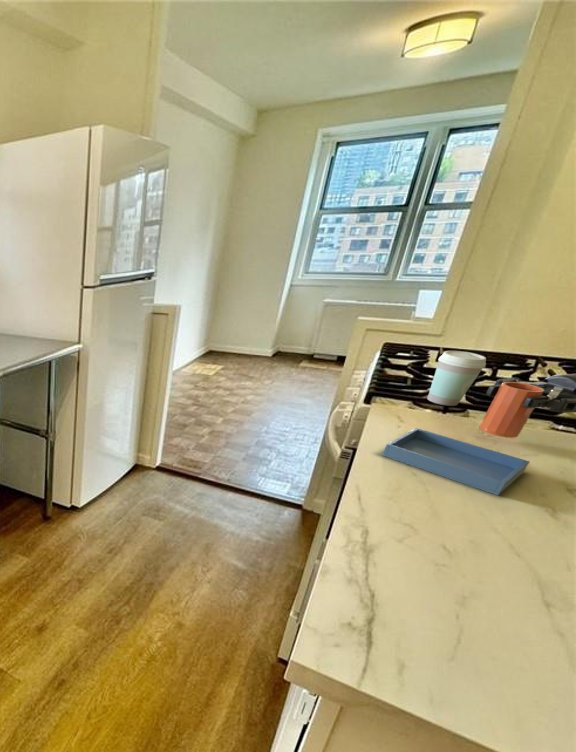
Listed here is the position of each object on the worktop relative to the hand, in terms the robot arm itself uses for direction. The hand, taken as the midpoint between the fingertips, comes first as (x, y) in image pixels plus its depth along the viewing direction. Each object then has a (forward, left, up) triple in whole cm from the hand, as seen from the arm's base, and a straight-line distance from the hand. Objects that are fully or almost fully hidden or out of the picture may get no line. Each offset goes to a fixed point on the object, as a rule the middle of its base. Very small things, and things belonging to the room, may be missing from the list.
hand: (508, 396), depth 97 cm
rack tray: (0, +19, -10) cm, 21 cm away
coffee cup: (+13, -20, -10) cm, 26 cm away
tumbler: (-1, -2, -8) cm, 8 cm away
